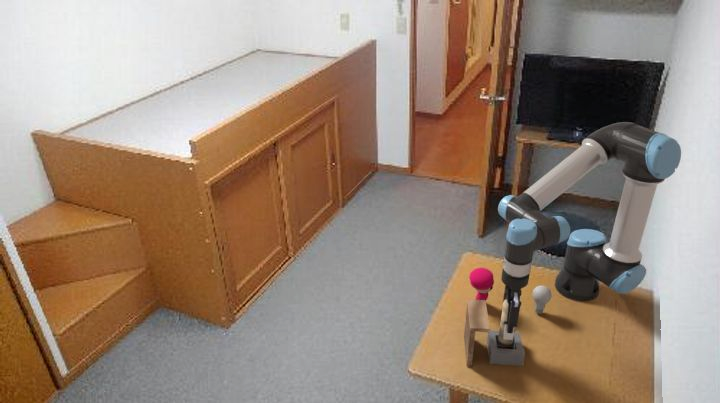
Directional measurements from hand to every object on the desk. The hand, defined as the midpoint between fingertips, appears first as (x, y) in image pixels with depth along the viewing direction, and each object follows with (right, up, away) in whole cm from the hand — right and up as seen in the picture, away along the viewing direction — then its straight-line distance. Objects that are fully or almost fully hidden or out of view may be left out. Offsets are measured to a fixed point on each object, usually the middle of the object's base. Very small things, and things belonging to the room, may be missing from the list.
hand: (506, 332), depth 166 cm
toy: (-3, +3, +24) cm, 24 cm away
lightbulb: (+16, +2, +20) cm, 26 cm away
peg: (0, -2, +1) cm, 3 cm away
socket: (0, -7, +4) cm, 8 cm away
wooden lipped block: (-10, -7, +5) cm, 13 cm away
